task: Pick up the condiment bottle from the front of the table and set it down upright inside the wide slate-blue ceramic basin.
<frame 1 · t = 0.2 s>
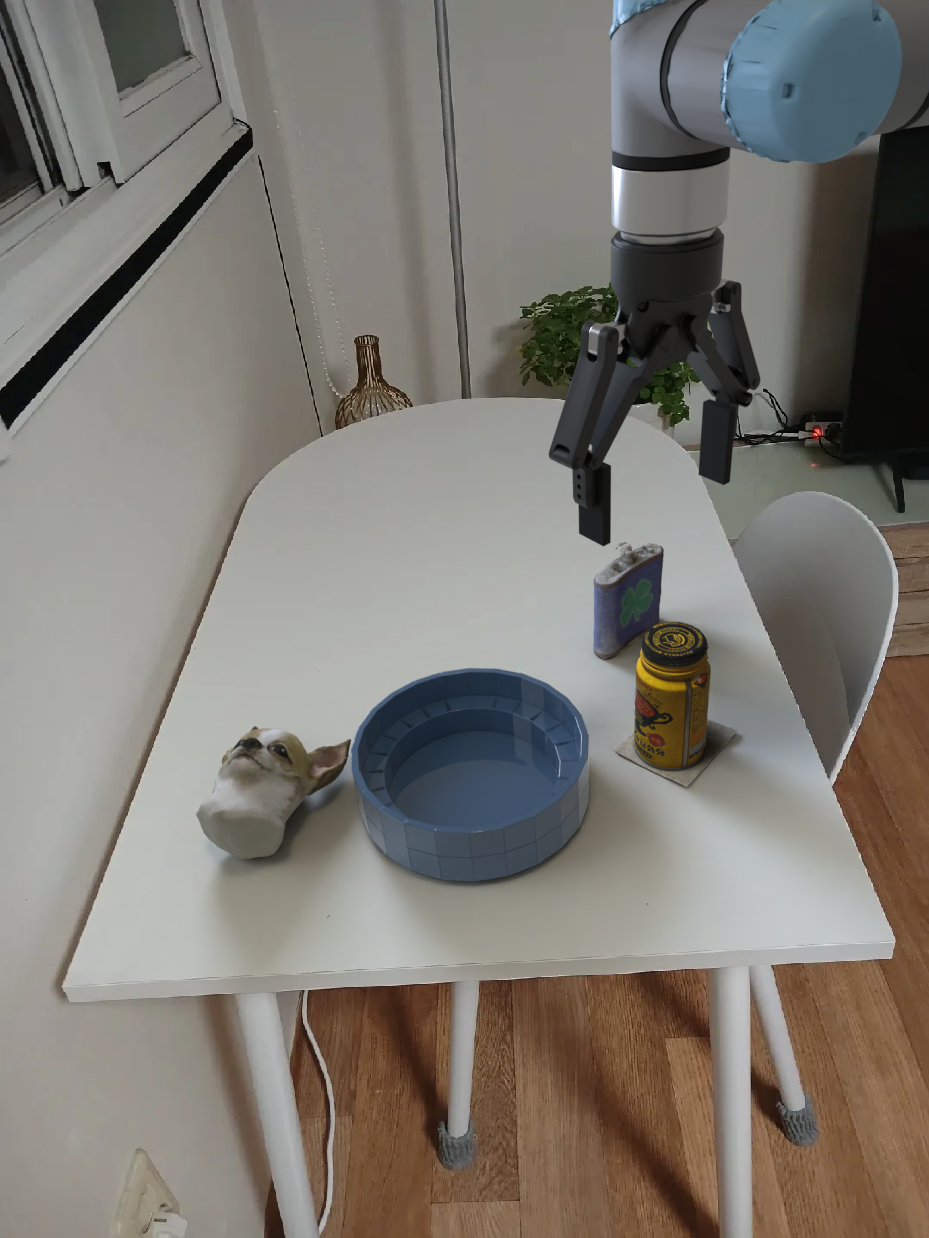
hand: (656, 507, 76), 21 cm above the table, tool pointing down, fingers open, 13 cm apart
basin: (474, 794, 81), on the table
flask: (626, 637, 97), on the table
condiment: (675, 744, 84), on the table
ceramic sculpture: (273, 812, 81), on the table
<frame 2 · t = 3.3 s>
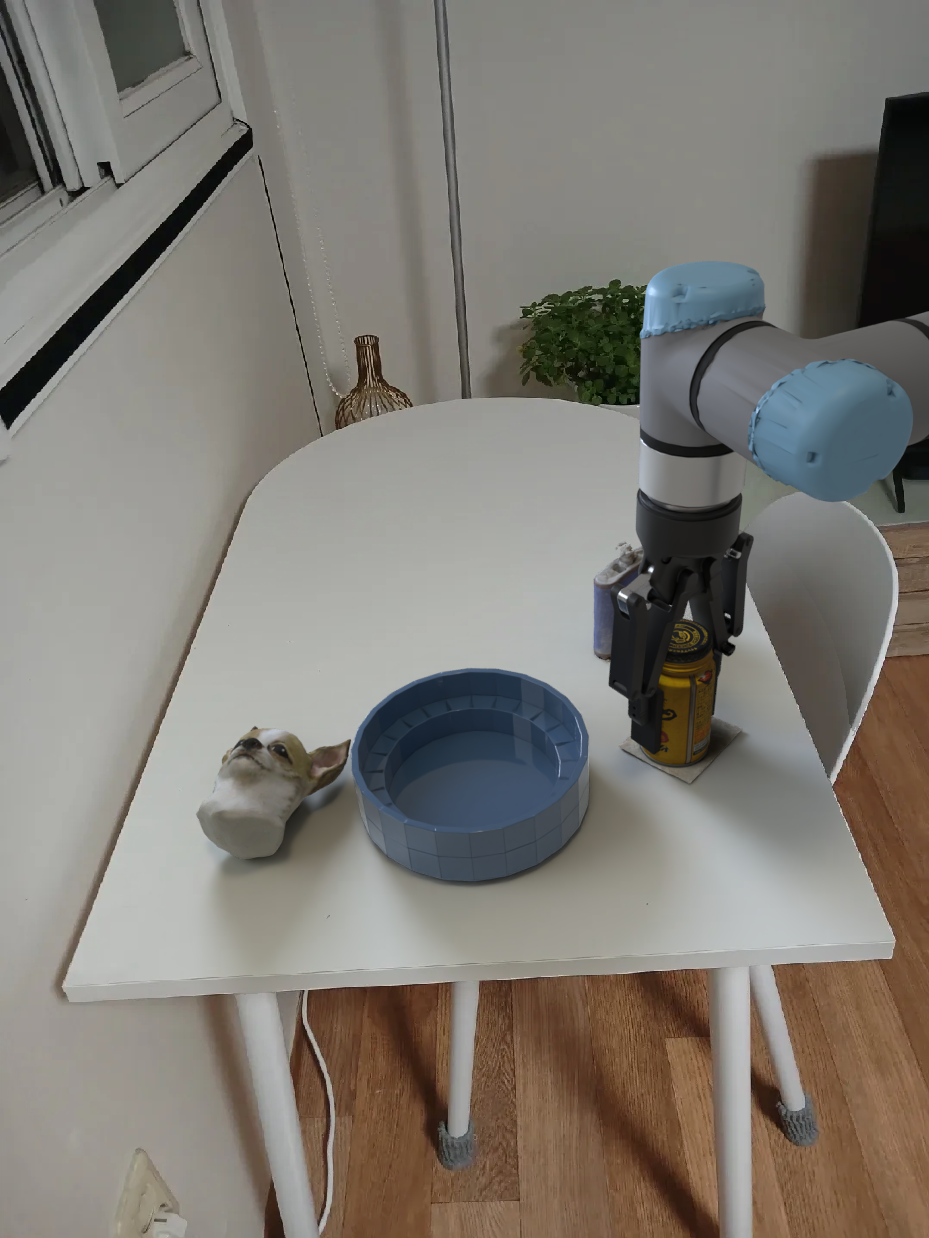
hand: (672, 725, 82), 2 cm above the table, tool pointing down, fingers closed on condiment, 6 cm apart
condiment: (680, 741, 84), on the table, touching gripper
everything else where it was.
when the fingers open (3 cm above the table, at t = 11.6 s): condiment stays where it is, resting on basin.
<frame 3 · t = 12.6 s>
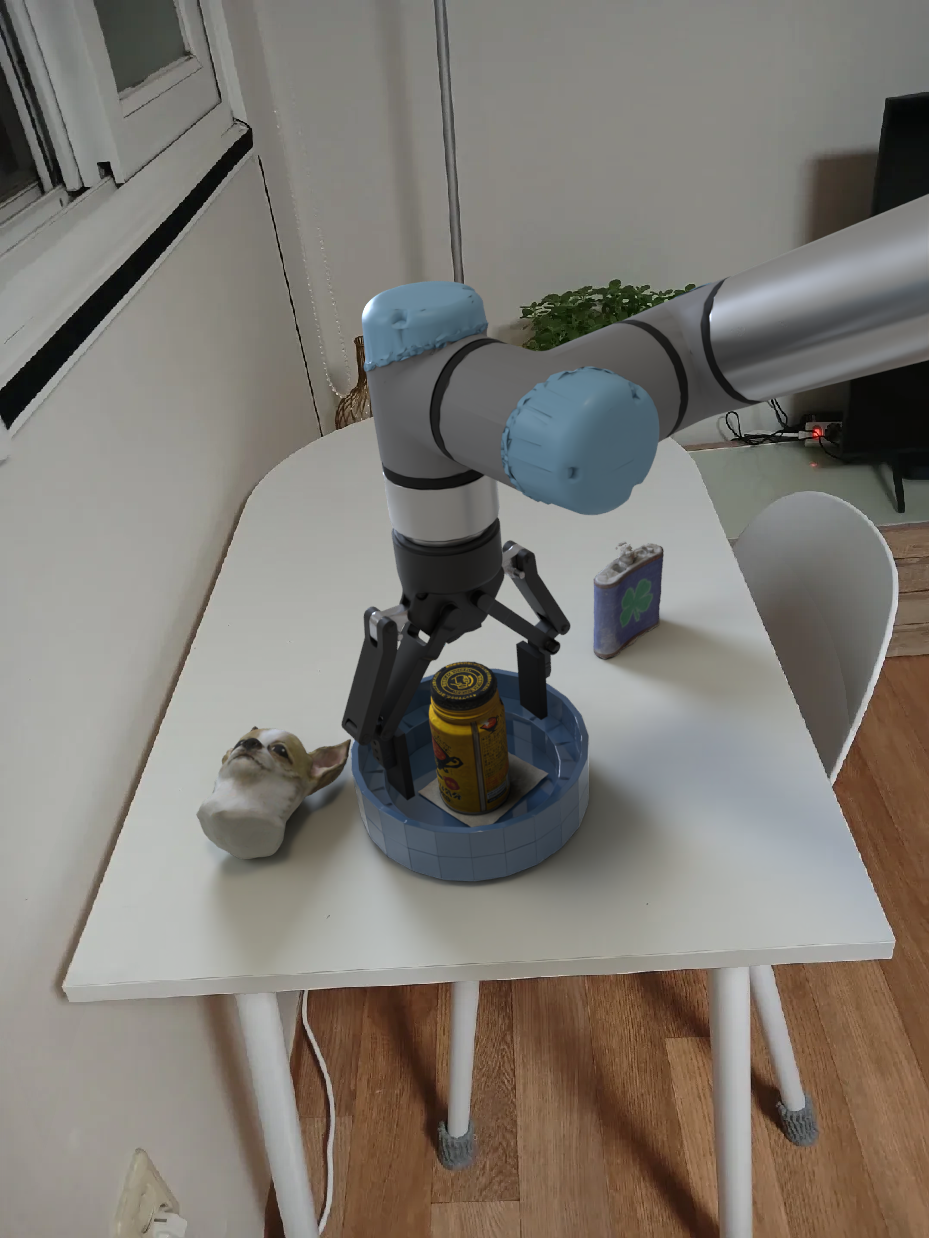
hand: (470, 748, 77), 5 cm above the table, tool pointing down, fingers open, 13 cm apart
condiment: (483, 786, 81), resting on basin
everything else where it was.
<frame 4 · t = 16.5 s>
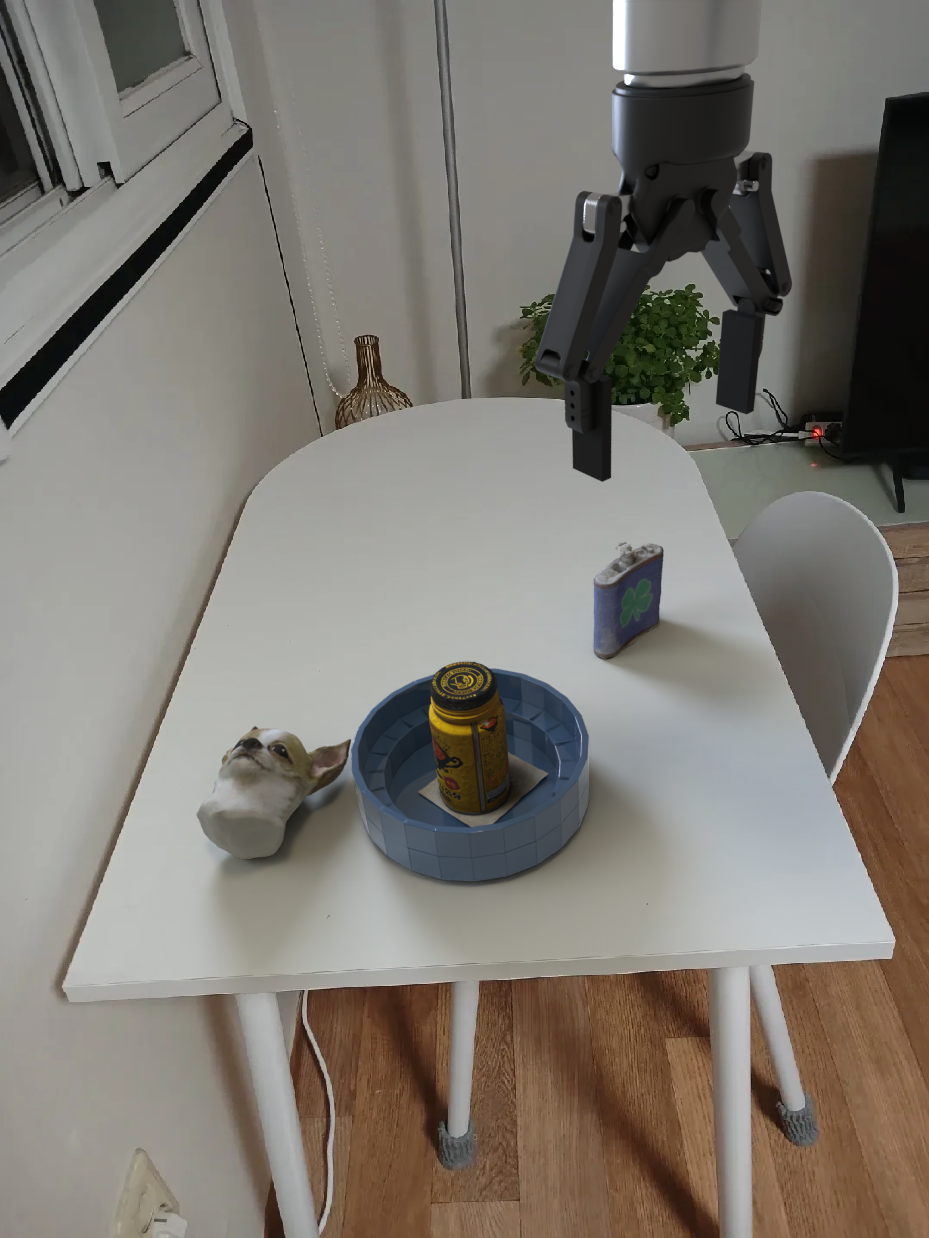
hand: (666, 439, 63), 31 cm above the table, tool pointing down, fingers open, 13 cm apart
nothing on the table moved.
at the end: condiment inside the target area in the basin (0.9 cm from its centre), point 0.4 cm above the basin's base; condiment tilted 0°; the gripper is holding nothing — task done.
